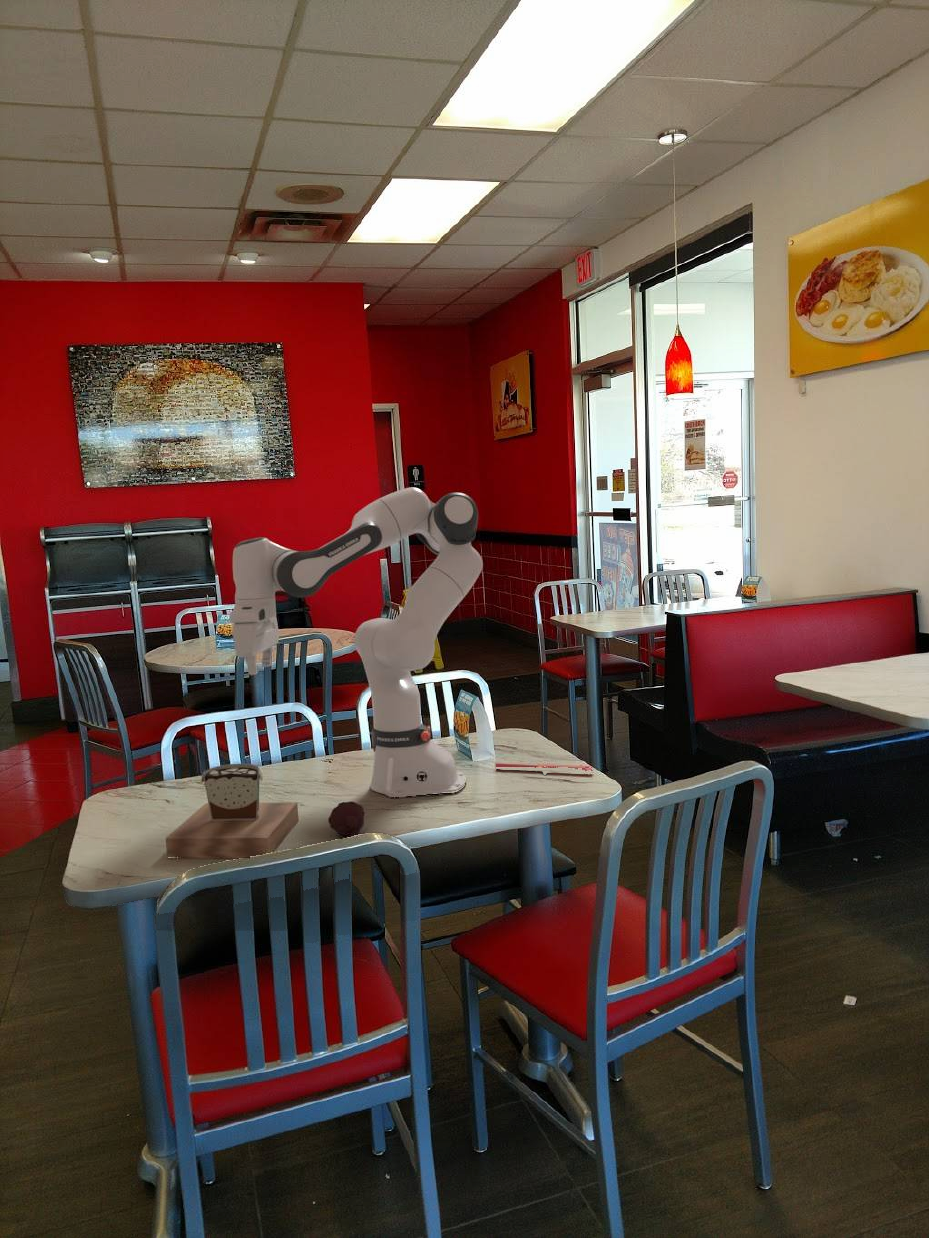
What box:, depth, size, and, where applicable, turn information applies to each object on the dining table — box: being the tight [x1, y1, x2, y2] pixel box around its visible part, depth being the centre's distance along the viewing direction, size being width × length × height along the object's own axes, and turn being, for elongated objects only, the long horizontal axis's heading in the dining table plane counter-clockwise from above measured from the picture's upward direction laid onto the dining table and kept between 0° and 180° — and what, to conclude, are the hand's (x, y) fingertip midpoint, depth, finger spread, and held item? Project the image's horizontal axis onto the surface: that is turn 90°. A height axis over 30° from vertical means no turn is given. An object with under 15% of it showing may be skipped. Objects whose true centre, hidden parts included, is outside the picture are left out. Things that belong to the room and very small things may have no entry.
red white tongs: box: [494, 762, 594, 772], centre depth 216 cm, size 24×2×5 cm
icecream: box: [327, 801, 366, 837], centre depth 180 cm, size 7×7×15 cm
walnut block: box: [165, 802, 299, 859], centre depth 181 cm, size 20×20×4 cm
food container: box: [200, 763, 264, 821], centre depth 182 cm, size 12×6×10 cm, turn 86°
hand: (260, 670), depth 205 cm, fingers open, 8 cm apart
